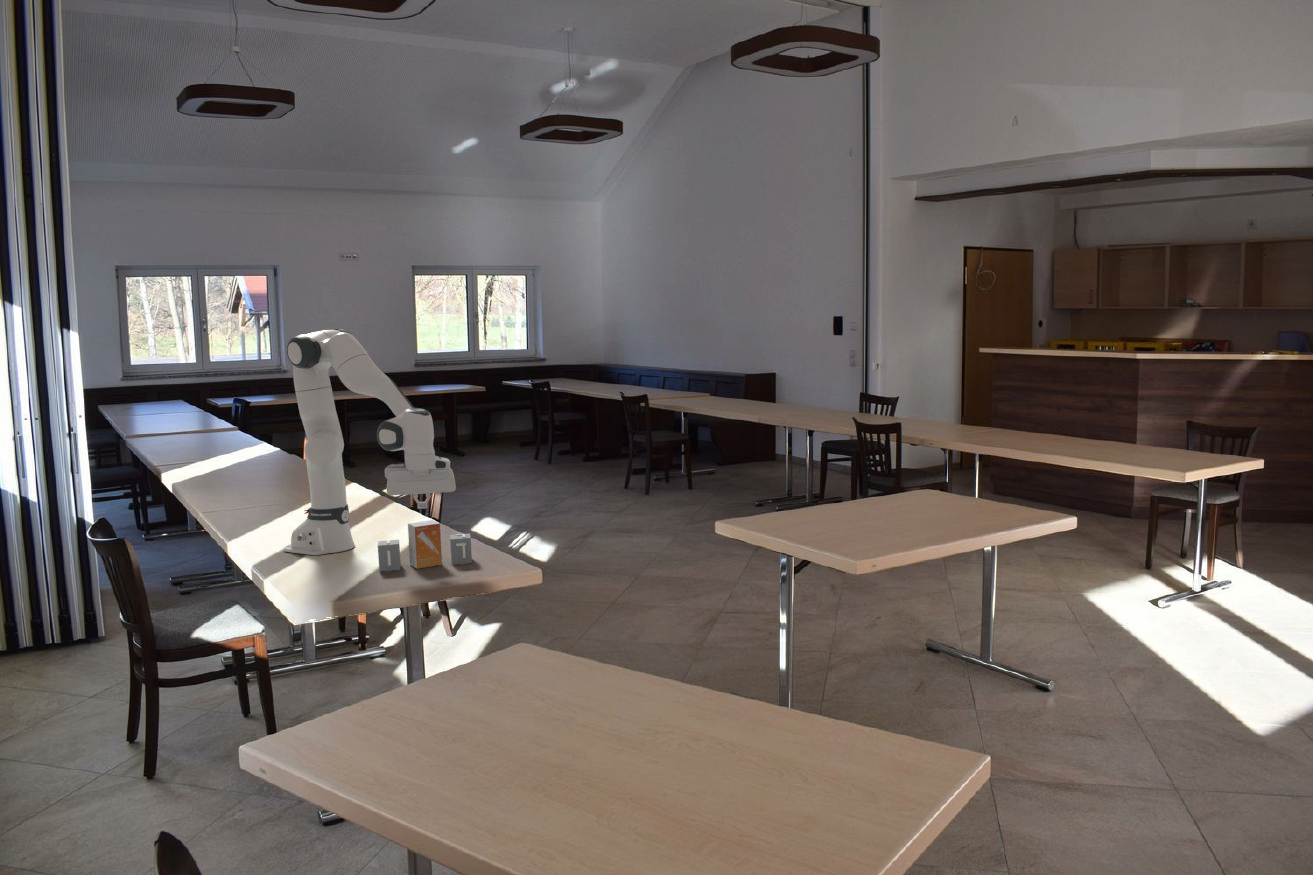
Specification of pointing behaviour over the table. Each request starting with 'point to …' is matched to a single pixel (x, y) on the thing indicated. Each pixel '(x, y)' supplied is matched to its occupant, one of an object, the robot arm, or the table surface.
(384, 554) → the numbered block one
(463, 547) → the numbered block seven
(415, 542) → the small box
